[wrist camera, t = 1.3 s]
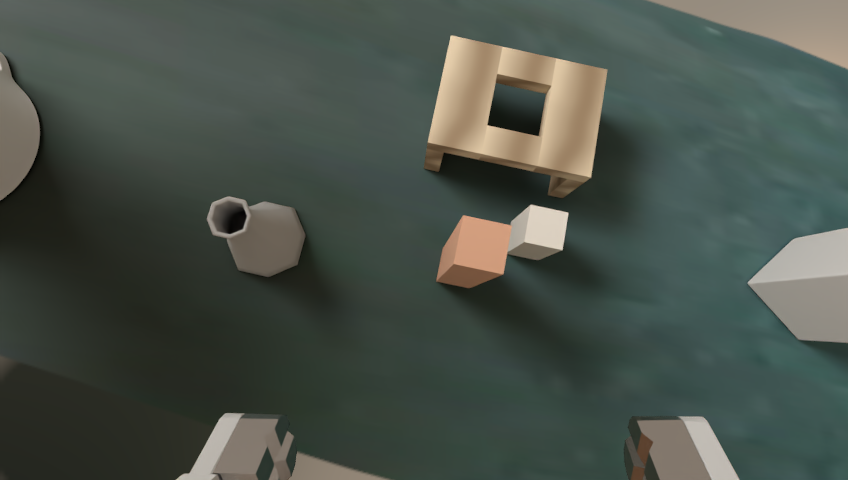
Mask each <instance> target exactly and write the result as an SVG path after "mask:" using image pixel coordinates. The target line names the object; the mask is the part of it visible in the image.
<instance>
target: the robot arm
mask: <svg viewBox="0 0 848 480" xmlns="http://www.w3.org/2000/svg"><path fill="white" fill-rule="evenodd" d="M39 140H40V126H39V120H38V116H37V113H36V110H35V108H34V105H33V104H32V102H31V100H30V99H29V97H28V96H27V95H26V93H25V92H24V91H23V90H22V89H21V88H20V87H19V86H18V85H17V84H16V82H15V81H14V80H13V78H12V75H11V71H10V68H9V65H8V62H7V60H6V58H5V56H4V55H3V54H2V53H0V200H2V199H3V198H5V197H6V196H7V195H8V194H10V193H11V192H12V191H13V190H14V189H15V188H16V187H17V186H18V185H19V184H20V183H21V181H22V180H23V179H24V178H25V176H26V175H27V173H28V172H29V170H30V168H31V166H32V164H33V162H34V160H35V157H36V154H37V151H38V147H39ZM289 425H290V423H289V420H288V418H287V415H276V414H248V413H225V414H224V415H223V416H222V417H221V418H220V419H219V421H218V422H217V424H216V426H215V428H214V430H213V432H212V433H211V435H210V437H209V439H208V441H207V443H206V444H205V446H204V448H203V450H202V452H201V454H200V455H199V457H198V459H197V461H196V463H195V464H194V466H193V468H192V470H191V472H190V473H189V474H183V475H181V476H180V477H179V478H177V479H176V480H288V479H289V478H290V477H291V476H292V472H293V470H294V466H295V462H296V461H295V460H296V454H297V449H296V441H295V438H294V436H293V435H292V434H290V433H289V432H288V428H289ZM628 429H629V432H630V434H631V436H630V437H629V438H627V439H626V440H625V445H624V463H625V467H626V472H627V475H628V479H629V480H739V478H738V476H737V474H736V472H735V470H734V469H733V467H732V465H731V463H730V461H729V460H728V458H727V456H726V454H725V452H724V450H723V449H722V447H721V445H720V443H719V441H718V440H717V438H716V436H715V434H714V432H713V430H712V429H711V427H710V425H709V423H708V421H707V420H706V419H705V418H703V417H677V416H632V417H631V419H630V420H629V425H628Z"/></svg>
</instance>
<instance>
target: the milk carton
mask: <svg viewBox="0 0 848 480" xmlns="http://www.w3.org/2000/svg"><path fill="white" fill-rule="evenodd" d="M748 285H749V286H750V287H751V288H752V289H753V290H754V291H755V292H756V294H757V295H758V296H759V297H760V298H761V299H762V300H763V301H764V302H765V303H766V305H767V306H768V307H769V308H770V309H771V310H772V311H773V312H774V313H775V314H776V316H777V317H778V318H779V319H780V320H781V321H782V322H783V323H784V324H785V325H786V327H787V328H788V329H789V330H790V331H791V332H792V333H793V334H794V335H795V336H796V337H797V339H798V340H809V341H826V342H843V343H848V228H845V229H840V230H835V231H830V232H825V233H820V234H815V235H809V236H804V237H799V238H795V239H793V240H792V241H791V242H790V243H788V244H787V245H786V246H785V247H784V248H783V249H782V250H781V251H780V252H779V253H778V254H777V255H776V256H775V257H774V258H773V259H772V260H771V261H769V262H768V263H767V264H766V265H765V266H764V267H763V268H762V269H761V270H760V271H759V272H758V273H757V274H756V275H755V276H754V277H753V278H752V279H751V280H750V281H749V282H748Z"/></svg>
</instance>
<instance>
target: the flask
mask: <svg viewBox="0 0 848 480" xmlns="http://www.w3.org/2000/svg"><path fill="white" fill-rule="evenodd" d="M207 221H208V223H209V226H210V229H211V231H212V234H213V235H214V236H219V237H223V238H227V243H228V245H229V248H230V250H231V253H232V256H233V258H234V261H235V263H236V266H237V268H238V270H239V271H244V272H248V273H252V274H257V275H261V276H265V277H270V276H272V275H275V274H277V273H279V272H282V271H284V270H286V269H289V268H291V267H294V266H296V265H298V261H299V258H300V254H301V250H302V247H303V243H304V239H305V236H306V235H305V233H304V230H303V228H302V225H301V223H300V221H299V218H298V216H297V213H296V211H295V209H294V208H292V207H287V206H283V205H279V204H274V203H270V202H266V201H264V202H261V203H259V204H256V205H253V206H249V207H248V204H247V202H246V200H243V199H238V198H234V197H230V196H228V197H225V198H223V199H220V200H218V201H215V202H213V203H212V204H211V208H210V211H209V214H208V217H207Z"/></svg>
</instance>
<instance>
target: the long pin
mask: <svg viewBox="0 0 848 480" xmlns="http://www.w3.org/2000/svg"><path fill="white" fill-rule="evenodd" d="M511 229H512V226H511V225H506V224H502V223H497V222H492V221H488V220H483V219H478V218H474V217H469V216H464V215H463V217H462V218H461V220H460V222H459V223H458V225H457V226H456V228H455V230H454V231H453V233H452V235H451V236H450V238H449V239H448V241H447V243H446V244H445V246H444V248H443V250H442V255H441V260H440V265H439V270H438V275H437V280H436V281H437V282H442V283H446V284H451V285H456V286H460V287H465V288H471V287H474V286H476V285H479V284H481V283H484V282H486V281H488V280H491V279H493V278H496V277H498V276H501V275H503V273H504V268H505V262H506V257H507V251H508V245H509V240H510V234H511Z"/></svg>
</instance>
